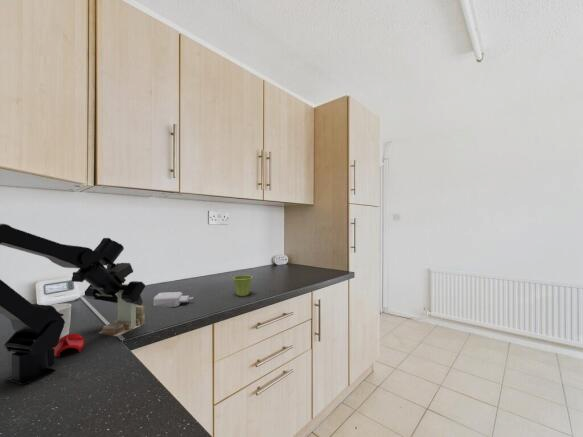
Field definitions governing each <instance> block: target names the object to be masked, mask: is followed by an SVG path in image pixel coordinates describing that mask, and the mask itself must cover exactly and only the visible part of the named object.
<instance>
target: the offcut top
mask: <svg viewBox="0 0 583 437" xmlns="http://www.w3.org/2000/svg"><path fill="white" fill-rule="evenodd" d="M122 327H123V324H121V323H115V322H113V321H112V322H111V323H109V324H106V325H103V328H102V329H104V330H110V331H115V330H117V329H119V328H122Z"/></svg>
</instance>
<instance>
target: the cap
mask: <svg viewBox="0 0 583 437" xmlns="http://www.w3.org/2000/svg"><path fill="white" fill-rule="evenodd" d="M85 344H86V342H85V338H84V337H83V336H82V335H81V334H79V333H69V334H68V335H66V336H64V337H62V338H59V341H58V344H57V346H56V347H54V348H53V349H54V358H55V357H56V358H60V355H61V352H63V351H65V350H66V349H77V350H78V352H79V353H80V352H82V349H83V348H84V346H85Z"/></svg>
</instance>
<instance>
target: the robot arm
mask: <svg viewBox="0 0 583 437" xmlns="http://www.w3.org/2000/svg"><path fill="white" fill-rule="evenodd" d="M0 246H3V247H7V248H11V249H15V250H18V251H22V252H26V253H29V254H32V255H36V256H39V257H43V258H45V259H48V260H49V261H51V263H53V264H54V265H57V266H59V267H61V268H67V269H78V270H77V271H73V272H72V277H71V282H73V283H74V282H75V283H83V282H84V281H85V282H86V283H88V284H89V285H88V287H87V288H86V289H85V290H84V297H86V298H87V299H89V300H91V299H92V300H95V301H100V302H101V301H102V302H107V303H114V304H118V295H116V294H118V292H120V293H122V294H121V299H122V300H124V301H125V302H127V303H132V304H136V305H138V306H143V305H142V304H143V299H142V297H141V294H142V293H143V292H144V291H143V290H144V289H145V288H146V284H145V283H144V282H143V281H137V280H136V281H134V280H133V281H129V283H127V284H128V285H122V283H125V282H126V278H127V277H128V276H129V275H130V274H132V273H134V269H133V267H132V264H131V263H130V262H118V263H115V261H117V259H118V257H120V255H121V253H122V252H124V250H125V248H124V246H123V244H121V243H119V242H117V241H115V240H113V239H111V238H110V237H103V238H102V239H101V241H100V243H99V244H98V245H97V246H96V247H95V249H94V250H93V249H92V248H90V247H86V246H79V245H71V244H62V243H60V242H56V241H53V240H50V239H49V238H48V239H47V238H44V237H41V236H40V235H39V236H38V235H36V234H32V233H30V232H27V231H24V230H20V229H18V228H15V227H12V226H11V225H9V224H6V223H0ZM0 314H1V315H3V316H4V317H6V318H7V319H9V320H10V323H11V327H12V329H13V330H14V332H13V334H12V335H11V336H10V337H9V338H8V340H7V341H5V343H4V344H3V346H4V348H5V349H6V351H7V352H8V353H10V352H12V353H11V358H10V360H11V363H10V364H11V365H10V367H11V369H10V371H11V372H10V375H9V376H8V377H7V378H6V381H8V380H9V382H11V381H13V382H12V383H14V382H16V383H15V384H18V383H19V384H18V385H21V384H22V385H21V386H24V385H23V384H25V385H27V384H29V383H31V381H32V382H34V381H36V380H38V379H40V378H42V377H44V376H46V375H48V374H51V373H53V372H55V371H56V369H54V368H50V367H52V366H53V365H54V364H55V356H54V348H55V347H56V346H57V344H58V341H59V339H61V338H60V335H61V332H62V330H63V328H64V324H65V321H64V319H63V318H62V317H61V316H63V315H64V314H60V313H58V312H57V311H56V309H55V308H54V307H53V306H49V304H35V303H34V304H33V303H32V302H30V301H29V300H27V298H25V297H23V296H22V295H21V294H20V293H18V292H17V291H16V290H15V289H14V288H12V287H11V286H9V285H8V283H6V282H4V281H3V280H2V279H0ZM33 380H34V381H33ZM28 382H29V383H28Z"/></svg>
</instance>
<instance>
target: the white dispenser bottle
mask: <svg viewBox="0 0 583 437" xmlns="http://www.w3.org/2000/svg"><path fill="white" fill-rule="evenodd" d="M193 299H194V296H191V297H190V295H183V292H181V291H173V292H170V291H169V292H168V291H167V292H159V293H157V294H156V295H155V296H154V297H153V306H154V307H163V308H164V307H165V308H177V307H179V306H180V305H181V303H188V302H189V301H190V300H193Z"/></svg>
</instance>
